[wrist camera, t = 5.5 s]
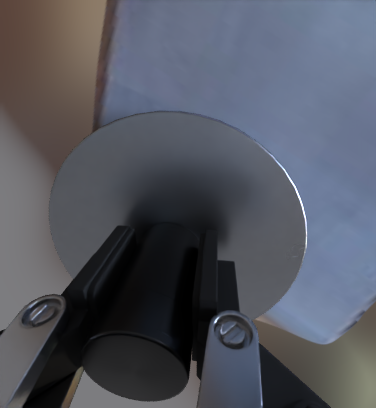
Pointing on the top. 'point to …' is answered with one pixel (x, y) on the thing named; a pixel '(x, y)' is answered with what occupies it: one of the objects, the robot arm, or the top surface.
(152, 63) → the top surface
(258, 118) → the top surface
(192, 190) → the lid
